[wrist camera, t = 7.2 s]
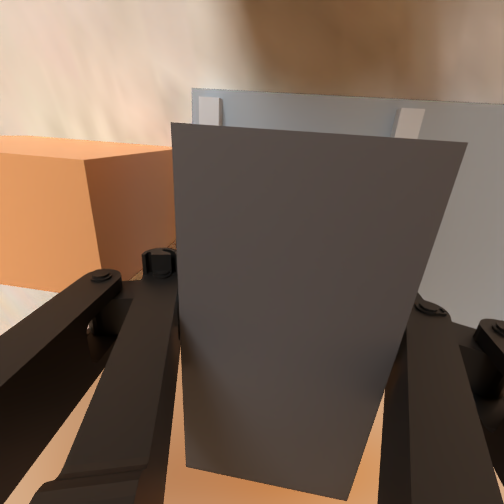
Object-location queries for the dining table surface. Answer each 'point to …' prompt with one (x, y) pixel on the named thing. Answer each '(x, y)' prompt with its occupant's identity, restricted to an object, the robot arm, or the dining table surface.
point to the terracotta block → (80, 208)
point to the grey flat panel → (413, 127)
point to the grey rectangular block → (297, 291)
